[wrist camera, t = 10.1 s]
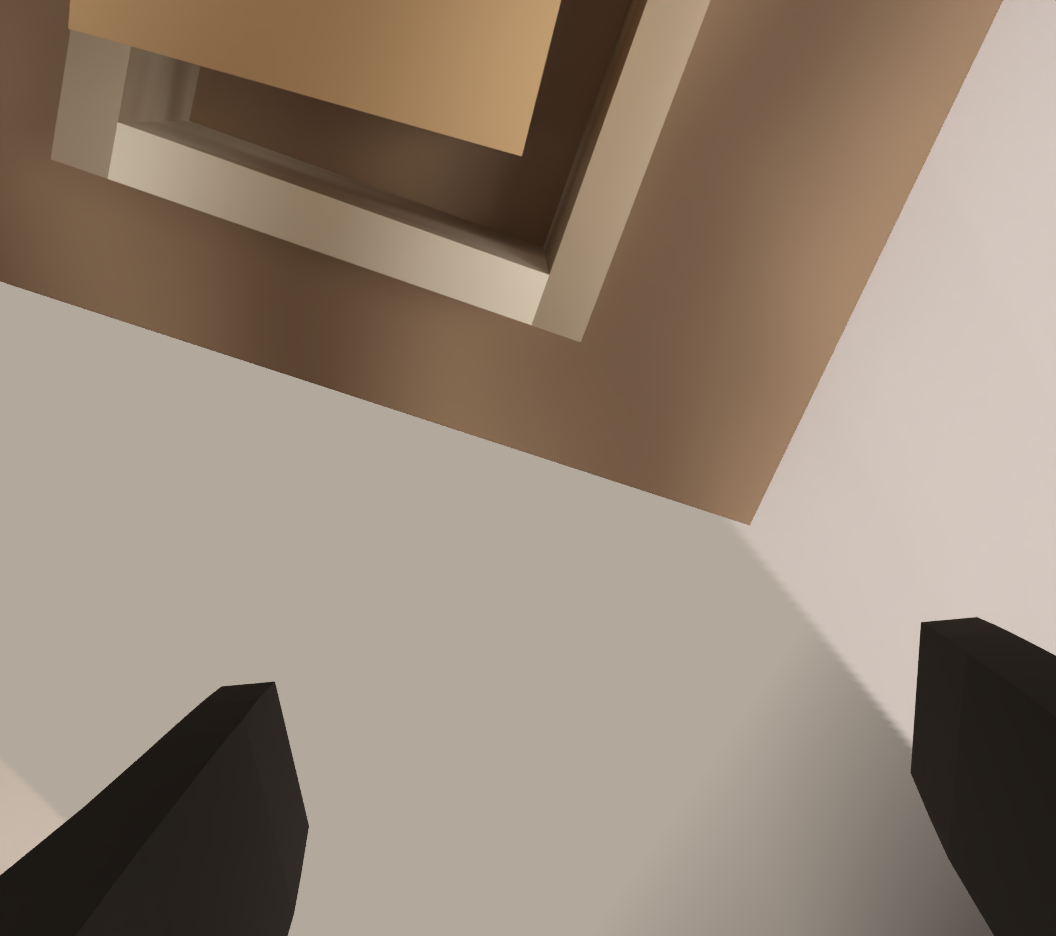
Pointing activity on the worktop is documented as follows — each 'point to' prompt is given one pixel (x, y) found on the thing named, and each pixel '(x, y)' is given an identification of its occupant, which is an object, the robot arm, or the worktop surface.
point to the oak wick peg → (360, 53)
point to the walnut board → (506, 222)
